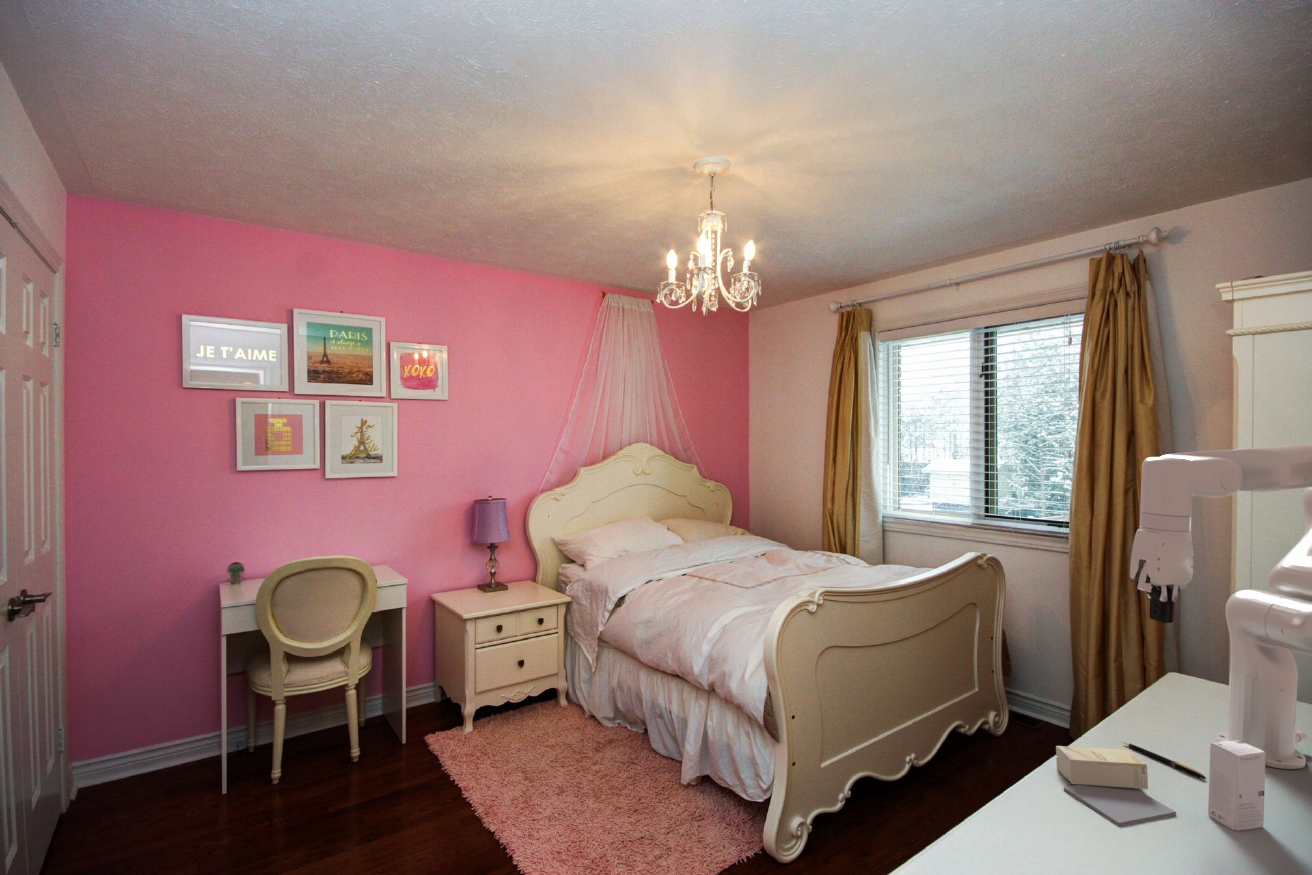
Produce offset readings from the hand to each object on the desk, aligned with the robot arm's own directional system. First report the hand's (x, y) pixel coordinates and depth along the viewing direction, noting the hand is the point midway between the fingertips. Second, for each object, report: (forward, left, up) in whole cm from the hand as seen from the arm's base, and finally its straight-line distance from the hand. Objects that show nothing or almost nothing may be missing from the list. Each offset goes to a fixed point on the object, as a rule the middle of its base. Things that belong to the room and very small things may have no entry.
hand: (1161, 620), depth 119 cm
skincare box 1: (+10, +5, -24) cm, 27 cm away
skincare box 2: (+5, +16, -27) cm, 32 cm away
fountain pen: (-2, 0, -28) cm, 28 cm away
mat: (+19, +8, -27) cm, 34 cm away
